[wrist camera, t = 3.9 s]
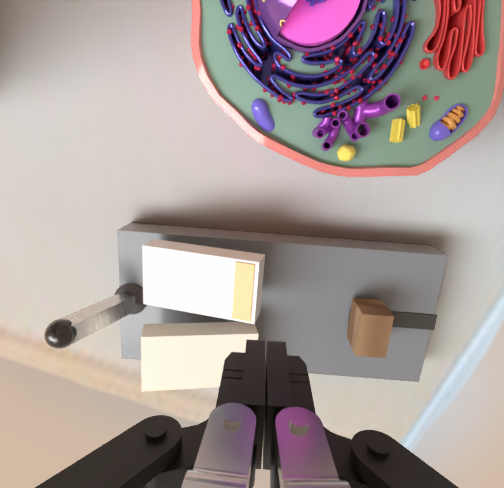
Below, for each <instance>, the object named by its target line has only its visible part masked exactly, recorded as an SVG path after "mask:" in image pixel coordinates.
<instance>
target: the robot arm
mask: <svg viewBox="0 0 504 488" xmlns="http://www.w3.org/2000/svg"><path fill="white" fill-rule="evenodd" d="M262 446H263V469H268V470H270V488H458V487H457V486H456V485H454V484H453V483H452V482H450V481H449V480H448V479H446V478H445V477H444V476H442V475H441V474H439V473H438V472H437V471H435V470H434V469H433V468H432V467H430V466H429V465H427V464H426V463H425V462H423V461H422V460H421V459H419V458H418V457H417V456H415V455H414V454H413V453H411V452H410V451H409V450H407V449H406V448H405V447H403V446H402V445H401V444H399V443H398V442H397V441H395V440H394V439H393V438H391V437H390V436H388V435H386V434H384V433H382V432H379V431H374V430H363V431H360V432H358V433H357V434H355V435H354V437H353V439H352V440H351V439H348V438H345V437H342V436H339V435H336V434H334V433H332V432H330V431H329V430H327V429H326V428H325V427H324V426H323V424H322V422H321V420H320V418H319V417H318V416H317V415H316V413H315V408H314V403H313V397H312V392H311V387H310V381H309V376H308V371H307V365H306V364H305V362H304V361H303V360H302V359H301V358H300V356H291V355H287V349H286V342H283V341H267V342H266V356H265V340H249V339H247V340H246V350H245V353H242V352H231V353H230V354H229V355H228V357H227V358H226V359H225V361H224V366H223V372H222V378H221V382H220V388H219V393H218V399H217V404H216V408H215V409H214V410H213V411H212V412H211V414H210V416H209V419H207V420H206V421H204V422H202V423H200V424H198V425H194V426H190V427H185V428H181V426H180V424H179V423H178V421H177V420H175V419H174V418H172V417H169V416H163V415H158V416H152V417H149V418H146V419H144V420H142V421H141V422H139V423H137V424H136V425H134V426H133V427H131V428H129V429H128V430H126V431H125V432H123V433H122V434H120V435H118V436H117V437H115V438H113V439H112V440H110V441H109V442H107V443H106V444H104V445H102V446H101V447H99V448H98V449H96V450H94V451H93V452H91V453H90V454H88V455H86V456H85V457H83V458H82V459H80V460H78V461H77V462H75V463H74V464H72V465H71V466H69V467H67V468H66V469H64V470H62V471H61V472H59V473H58V474H56V475H54V476H53V477H51V478H50V479H48V480H47V481H45V482H43V483H42V484H40V485H39V486H37V487H35V488H253V486H254V480H255V469H261V458H262Z"/></svg>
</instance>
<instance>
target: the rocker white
mask: <svg viewBox="0 0 504 488" xmlns="http://www.w3.org/2000/svg"><path fill="white" fill-rule="evenodd" d="M142 250H143V304H146V305H152V306H157V307H162V308H168V309H173V310H179V311H184V312H190V313H195V314H201V315H206V316H212V317H217V318H223V319H228V320H234V321H239V322H245V323H250V324H255V322H256V320H257V318H258V316H259V314H260V309H261V297H262V285H263V274H264V262H265V254H258V253H251V252H244V251H237V250H230V249H223V248H215V247H208V246H201V245H194V244H187V243H180V242H172V241H165V240H158V239H155V240H153V241H151V242H148V243H146V244H144V245H142Z"/></svg>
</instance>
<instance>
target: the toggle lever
mask: <svg viewBox="0 0 504 488" xmlns="http://www.w3.org/2000/svg"><path fill="white" fill-rule="evenodd" d="M133 312H135V296H133V295H130V294H127V293H124V292H121V293H119V294H117V295H114V296H112V297H110V298H107V299H105V300H103V301H101V302H98V303H96V304H94V305H91V306H89V307H87V308H84V309H82V310H80V311H77V312H75V313H73V314H70V315H68V316H66V317H63V318H61V319H58V320H55V321H53V322H52V323H50V324H49V325H48V327H47V328H46V331H45V340H46V342H47V343H48V344H49V345H50V346H51V347H53V348H65V347H67V346H69V345H71V344H72V343H74V342H76V341H78V340H80V339H82V338H84V337H86V336H88V335H90V334H92V333H94V332H96V331H98V330H100V329H102V328H104V327H106V326H108V325H109V324H111V323H113V322H115V321H117V320H119V319H121V318H123V317H125V316H127V315H129V314H131V313H133Z"/></svg>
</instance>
